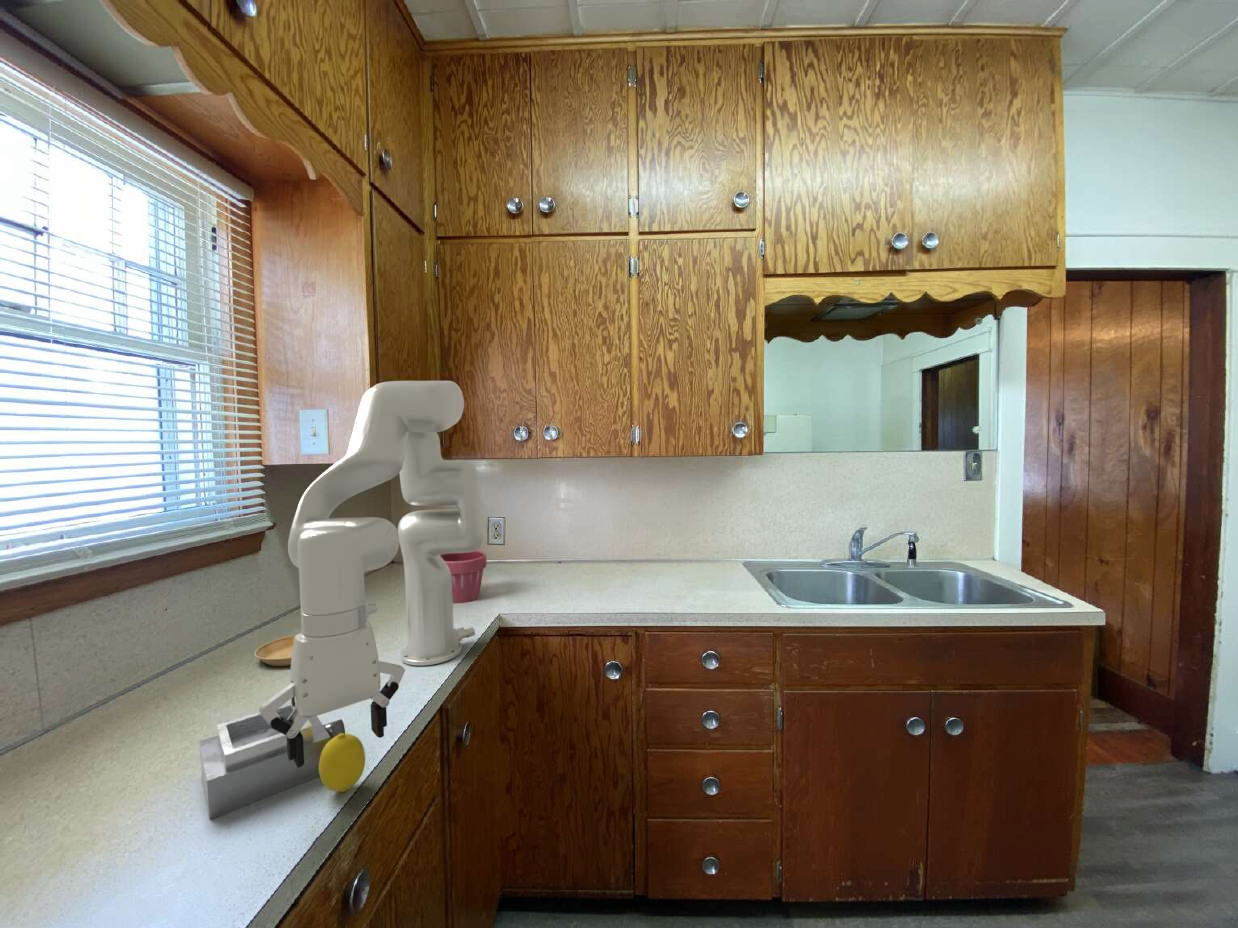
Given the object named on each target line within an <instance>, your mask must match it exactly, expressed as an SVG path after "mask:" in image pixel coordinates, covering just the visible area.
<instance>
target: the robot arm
mask: <svg viewBox="0 0 1238 928" xmlns="http://www.w3.org/2000/svg"><path fill="white" fill-rule="evenodd" d="M464 408H465V400H464V394H463V392H462V389H461V388H460V386H459V385H458V384H457V383H456V382H454V381H452V380H391V381H384V382H380V383H376V384H375V385H373V386H372V387H370V388H368V389H367V390H366V391H365V392H364V394H363V395H362V397H361V400H360V404H359V407H358V410H357V415H356V417H355V422H354V425H353V429H352V433H351V437H350V439H349V442H348V448H347V452H346V454H345V455H344V456H343V457H342V458H341V459H340V460H339V459H338V461H336V462H335V463H333V465H331V466H330V467H329V468H328V469H326V470H325V471H324V472H322V474H320V475H319V476H318V477H317V478H316V479H315V480H314V481H313V482H311V484H310V485H309V486H308V487H307V489H306V490H305V491H304V493H303V494H302V496H301V497H300V500H299V502H298V504H297V508H296V511H295V514H294V517H293V520H292V524H291V527H290V530H289V535H288V541H287V552H288V553H287V554H288V556H289V560H290V561H291V563H292V564H293V566H295V567H296V568H297V569H298V578H299V581H298V582H299V597H300V598H299V600H300V621H301V626H300V628H301V633H298V634H295V635H296V636H295V638H294V643H293V649H292V657H291V665H290V674H289V675H290V677H289V679H290V681H289V684H288V685H286V686H285V687H284V688H283V689H281V690H280V691H278V692H277V693H276V694H274V695H273V696H271V698H269V699H267V700H266V701H265V702H264V703H262V704H261V705H259V707H258V712H260V714H261V715H262V717H263V718H264V719H265V720H266V721H267V723H268V724H269V725H270V726H271V727H272V729H274V730H276V731H278V732H280V733H282V734H284V735H286V736H287V755H288V759H289V761H290V760H294V762H295V764H296V766H297V768H299V767H302V766H303V765H304V747H303V735H302V733H301V732H300V730H301V728H302V727H303V726H304V724H305V723H306V721H307V720H308V718H309V717H314V716H317V717H318V716H320V715H323V714H326V713H327V714H328V713H330V712H333V711H336V710H340V709H343V708H345V707H349V706H351V705H354V704H359V703H362V702H364V701H367V700H370V699H371V700H372V702H371V704H370V726H371V731H372V733H374V735H375V736H376V737H377V738H379V739H381V738H384V736H385V727H387V726H388V716H387V714H388V713H387V707H388V706H389V705H390V700H391V699H392V698H393V696H394V695H395V694H396V693H397V691H398V690H399V687H400V685H399V684H400V683H401V681H402V679H403V677H404V675H405V672H406V669H405V668H404V667H403V666H402V665H399V664H396V663H392V662H391V663H390V662H387V661H381V660H379V654H378V649H377V642H376V638H375V634H374V631H373V627H372V624H371V623H370V621H368V620H369V619H368V618H369V616H371V615H373V614H376V613H377V611H378V608H377V603H375V602H374V603H371V604H370V603H367V602H366V596H365V595H366V590H365V572H368V571H373V570H378V569H380V568H383V567H385V566H387V565H388V564H389V563H390V562H392V561H393V560H394V558H395V557H396V555H397V553H398V550H399V548H400V551H401V555H402V560H403V570H404V573H403V574H404V586H405V587H404V588H405V607H406V611H405V612H406V628H407V629H406V631H407V633H406V634H407V646H406V647H404V648H403V649H402V651H401V652H400V660H401V661H402V663H405V665H410V666H418V667H419V666H431V665H436V664H441V663H445V662H448V661H450V660H452V659H454V658H456V657H457V656H458V655H459V654H461V652H462V650H463V648H462V645H463V644H462V643H461V642H462V641H463V639H465V638H466V639H467V638H470V637H475V635H476V630H475V628H474V627H473V626H472V627H469V628H468V627H467V628H464V626H463V627H458V628H455V627H454V609H453V608H454V606H453V604H454V603H453V602H452V577H451V571H450V569H449V567H448V565H447V564H446V562H445V561H444V560H443V559H442V557H441V556H440V555H441V554H454V553H470V552H474V551H479V549H480V548H481V546H482V545H483V540H484V520H483V509H482V508H483V507H482V496H481V482H480V475H479V471H478V470H477V467H476V466H475V464H474V463H472V462H471V461H468V460H465V459H464V460H463V459H458V460H457V459H455V460H454V459H453V460H452V459H451V460H447V459H446V460H444V459H443V457H442V454H441V443H440V441H441V439H440V437H439V434H438V433H439V432H443V431H446V430H449V428H451V427H452V426H454V425H456V424H457V423H458V422H459V421H460V420H461V418H462V415H463V413H464ZM398 474H399V480H400V481H399V482H400V489H401V494H402V498H403V500H404V501H405V502H406V503H407V504H409V505H412V506H421V507H423V506H424V507H425V506H427V507H428V506H429V507H430V506H431V507H433V506H455V507H456V509H455V508H454V509H453V508H451V509H424V510H423V509H419V510H416V511H415V510H414V511H410V512H409V513H407V514H405V515H403V516H402V517H401V519H400V520H399V522H398V525H397V527H396V525H395V524H394V523H393V522H392V521H390V520H388V519H386V518H382V517H374V516H373V517H367V516H365V517H335V518H334V517H331V518H330V516H331V514H332V513H333V512H334V510H335V509H336V508H338V506H340V505H341V504H342V503H344V502H346V501H347V500H348V499H350V498H351V497H354V496H355V495H357V494H359V493H362V492H365V491H367V490H369V489H372V488H374V487H377V486H379V485H381V484H383V483H385V482H389V481H390V480H392V479H393V478H395V477H397V476H398ZM381 674H387V675H390V676H389V680H388V681H387V682H386V683H385V684H384V686H383V687H382V688H381ZM289 701H290V703H291V704H292V707H295V709H294V710H293V711H292V713H291V714H290V715H289V717H288V718H287V719H285V718H283V717H281V716H279V715H278V714H277V713H276V711H277V709H278V708H279V707H281V706H282V705H284V704H287V703H288V702H289Z"/></svg>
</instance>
